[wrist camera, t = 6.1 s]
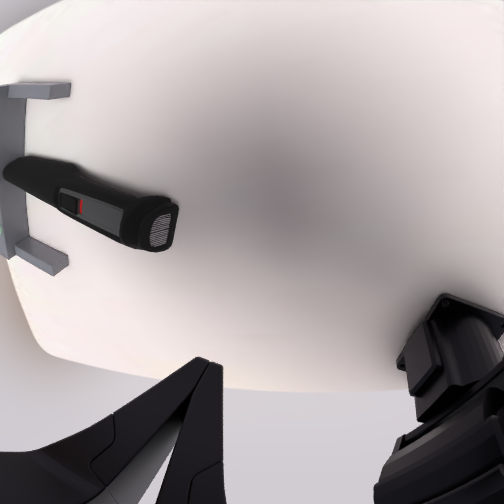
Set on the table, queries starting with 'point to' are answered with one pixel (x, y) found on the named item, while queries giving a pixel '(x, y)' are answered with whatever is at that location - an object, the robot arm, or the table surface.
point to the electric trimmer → (97, 203)
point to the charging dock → (10, 196)
